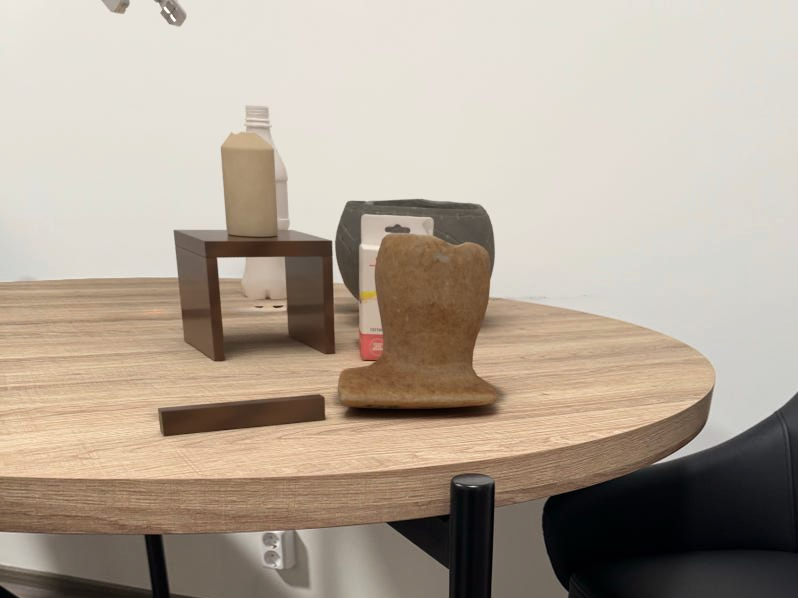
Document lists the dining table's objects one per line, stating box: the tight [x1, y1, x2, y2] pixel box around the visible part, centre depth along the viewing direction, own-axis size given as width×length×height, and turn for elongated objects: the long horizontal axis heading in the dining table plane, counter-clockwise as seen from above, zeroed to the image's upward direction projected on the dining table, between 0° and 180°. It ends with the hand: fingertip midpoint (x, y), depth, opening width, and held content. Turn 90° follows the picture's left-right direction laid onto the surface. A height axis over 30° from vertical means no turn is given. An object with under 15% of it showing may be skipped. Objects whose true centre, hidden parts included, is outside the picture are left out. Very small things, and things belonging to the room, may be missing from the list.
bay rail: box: [157, 393, 326, 436], centre depth 79 cm, size 14×1×2 cm, turn 121°
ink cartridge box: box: [358, 214, 434, 361], centre depth 104 cm, size 9×5×15 cm, turn 100°
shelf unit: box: [173, 229, 336, 362], centre depth 106 cm, size 14×12×12 cm
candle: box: [220, 131, 278, 237], centre depth 101 cm, size 6×6×10 cm
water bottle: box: [240, 105, 291, 309], centre depth 129 cm, size 7×7×25 cm
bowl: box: [334, 198, 496, 302], centre depth 124 cm, size 21×21×15 cm
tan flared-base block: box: [337, 233, 500, 410], centre depth 86 cm, size 15×12×15 cm
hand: (152, 14), depth 97 cm, fingers open, 8 cm apart
